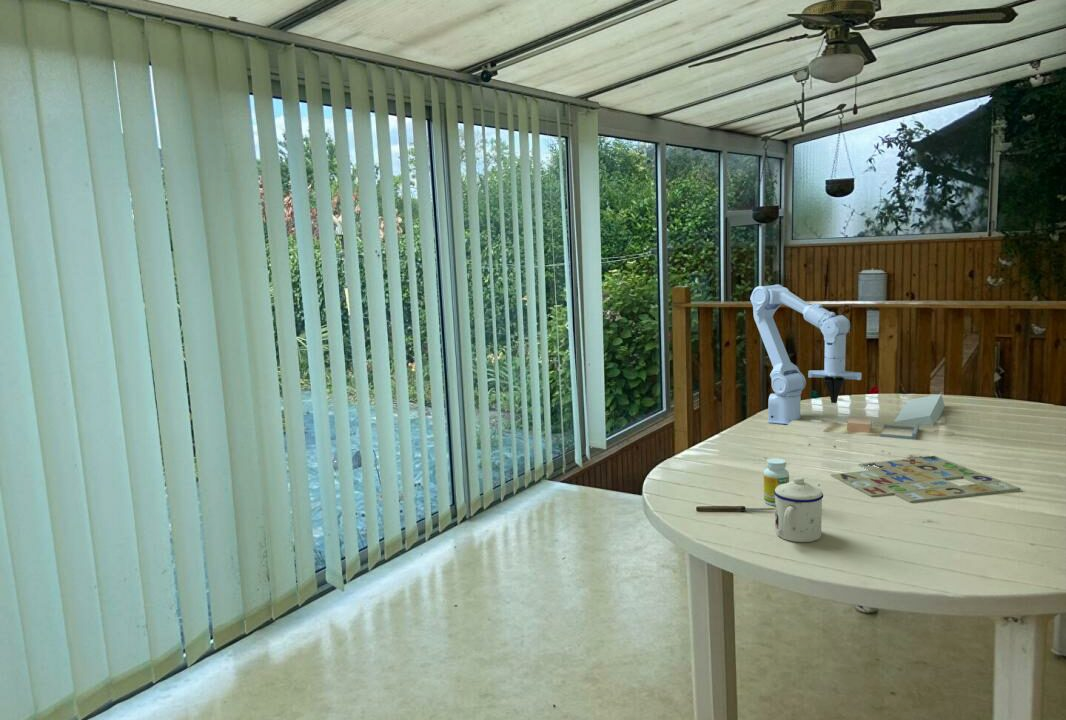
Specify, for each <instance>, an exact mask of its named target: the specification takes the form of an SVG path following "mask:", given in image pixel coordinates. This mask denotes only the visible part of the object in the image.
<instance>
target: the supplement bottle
mask: <svg viewBox="0 0 1066 720" xmlns="http://www.w3.org/2000/svg"><path fill="white" fill-rule="evenodd" d="M766 467H767V468H765V469H764V471H763V502H764V503H765V504H767V505H770V506H773V507H775V494H774V491H775V488H776V487H777V486H779V485H781V484H786V483H788V482H790V473H789V470H787V469H786V467H787V461H786V460H785V459H782V458H777V457H776V458H775V457H773V458H770V459H769V458H768V459H767V460H766Z"/></svg>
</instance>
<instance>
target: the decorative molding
mask: <svg viewBox="0 0 1066 720" xmlns="http://www.w3.org/2000/svg"><path fill="white" fill-rule="evenodd" d="M944 408H945V403H944V399H943V396H942V394H941V393H940V394H933V395H928V396H923V397H917V398H912V399H908V400H907V402H906V403H905V404H904V406H903V407H902V409H901V411H899V414H898V415H897V416H896V418H895V419H894V420H893V423H899V424H900V423H901V424H909V425H916V424H919V426H920V425H921V426H922V425H923V426H934V423H935V421H939V419H940V417H941V415H942V413H943V412H944Z"/></svg>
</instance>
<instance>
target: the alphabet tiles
mask: <svg viewBox="0 0 1066 720" xmlns="http://www.w3.org/2000/svg"><path fill="white" fill-rule="evenodd" d="M858 465H859V467H860V466H861V468H862V467H864V468H863V469H865V468H866V469H865V470H860V471H851V472H842V473H840V472H839V473H832V474H830V477H832V478H834V479H836V480H838V481H840V482H842V483H843V484H845V485H847V486H849V487H851V488H853V489H855V490H857V491H858V492H860V493H863V494H865V495H867V496H868V497H870V498H876V497H877V498H878V497H887V496H895V497H897V498H898V499H899V498H900V499H902V500H903V501H905V502H907V503H909V504H915V503H924V502H933V501H940V500H949V499H950V500H951V499H960V498H968V497H976V496H985V495H986V496H987V495H995V493H998V494H1005V493H1004V492H1008V493H1012V492H1011V491H1017V492H1021V491H1020V490H1021V489H1022V488H1020V487H1019V486H1017V485H1014V484H1011V483H1008V482H1005V481H1004V480H1000V479H998V478H996V477H992V476H989V475H988V474H985V473H982V472H978V471H976V470H974V469H970V468H969V467H968V468H967V467H965V466H963V465H960V464H958V463H956V462H953V461H950V460H947V459H944V458H941V457H939V456H936V455H932V456H931V455H930V456H922V457H910V458H901V459H893V460H885V461H873V462H864V463H857V466H858ZM868 465H869V466H868ZM873 465H875V466H877V467H879V468H877V467H874V466H873ZM867 469H868V470H867ZM961 479H963V480H965V479H966V481H968V482H970V483H971V484H961V485H959V484H956V483H954V482H951V480H961Z"/></svg>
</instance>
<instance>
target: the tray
mask: <svg viewBox="0 0 1066 720" xmlns="http://www.w3.org/2000/svg"><path fill="white" fill-rule="evenodd" d="M883 427H884V429H885V428H886V429H898V430H908V431H909V430H910V431H911V430H912V433H911V435H902V434H890V433H883V432H882V433H880V436H879V437H880V438H890V439H902V440H904V439H905V440H913V441H915V440H917V436H918V433H919V430H920V424H914V426H907V425H898V424H897V425H896V424H884V425H883Z"/></svg>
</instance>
